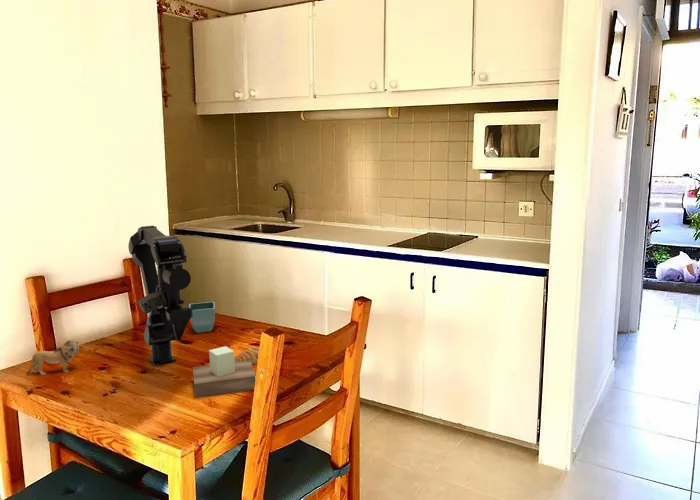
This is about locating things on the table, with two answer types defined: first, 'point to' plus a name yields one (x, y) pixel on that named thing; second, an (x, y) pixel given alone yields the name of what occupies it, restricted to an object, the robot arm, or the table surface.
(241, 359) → the pastry
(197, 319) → the flower pot
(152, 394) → the table surface
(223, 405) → the table surface
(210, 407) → the table surface
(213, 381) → the walnut box
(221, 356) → the sage cube
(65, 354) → the lion figurine
